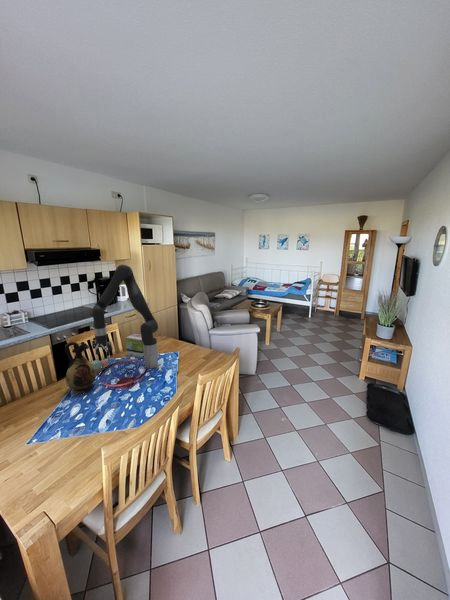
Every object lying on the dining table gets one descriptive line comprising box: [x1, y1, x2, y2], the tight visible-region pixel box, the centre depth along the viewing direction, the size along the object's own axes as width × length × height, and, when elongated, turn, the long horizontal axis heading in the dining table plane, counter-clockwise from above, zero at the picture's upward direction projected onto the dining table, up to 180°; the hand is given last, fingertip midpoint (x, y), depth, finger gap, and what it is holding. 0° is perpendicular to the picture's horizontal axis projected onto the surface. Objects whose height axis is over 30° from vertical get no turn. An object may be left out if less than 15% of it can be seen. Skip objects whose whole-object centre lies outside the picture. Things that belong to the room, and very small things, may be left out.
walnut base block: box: [95, 367, 103, 375], centre depth 164 cm, size 6×6×4 cm
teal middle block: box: [89, 359, 102, 369], centre depth 163 cm, size 5×5×4 cm
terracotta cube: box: [100, 359, 110, 369], centre depth 171 cm, size 4×4×4 cm
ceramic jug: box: [64, 341, 97, 394], centre depth 143 cm, size 17×15×30 cm
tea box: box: [125, 333, 144, 358], centre depth 192 cm, size 15×10×15 cm
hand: (102, 355), depth 171 cm, fingers open, 8 cm apart
